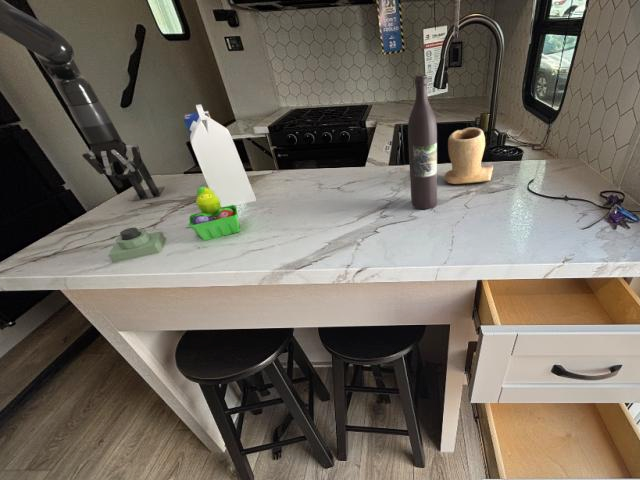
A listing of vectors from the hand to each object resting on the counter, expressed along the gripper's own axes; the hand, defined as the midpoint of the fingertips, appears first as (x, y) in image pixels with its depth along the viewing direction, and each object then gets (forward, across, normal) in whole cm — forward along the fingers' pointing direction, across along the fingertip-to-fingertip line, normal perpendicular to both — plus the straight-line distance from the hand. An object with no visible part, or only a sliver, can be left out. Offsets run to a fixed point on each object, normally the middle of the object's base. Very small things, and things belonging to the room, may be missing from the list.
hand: (130, 184), depth 102 cm
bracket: (+7, 0, -10) cm, 12 cm away
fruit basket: (+8, -25, +31) cm, 41 cm away
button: (+4, -6, +32) cm, 33 cm away
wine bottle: (+7, -79, +41) cm, 89 cm away
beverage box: (+7, -24, -8) cm, 26 cm away
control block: (+8, -6, +32) cm, 33 cm away
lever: (-2, 0, -6) cm, 6 cm away
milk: (+7, -28, +8) cm, 30 cm away
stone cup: (+7, -98, +32) cm, 103 cm away
